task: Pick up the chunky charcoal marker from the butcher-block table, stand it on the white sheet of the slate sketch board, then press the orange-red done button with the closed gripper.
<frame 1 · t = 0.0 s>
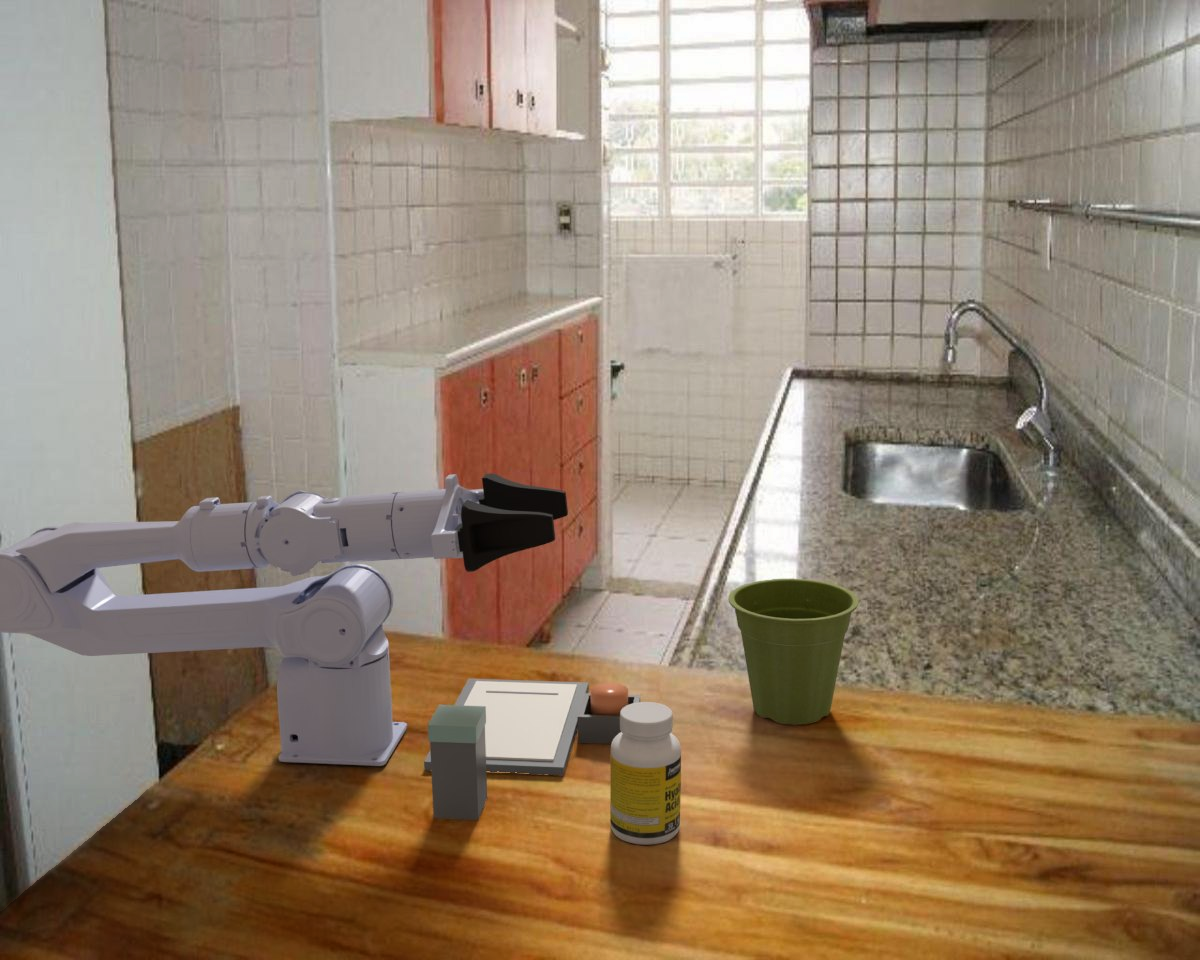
hand: (560, 515, 102), 22 cm above the worktop, tool horizontal, fingers open, 7 cm apart
marker: (460, 807, 99), on the worktop
plant pot: (789, 712, 116), on the worktop
supplement bottle: (645, 831, 95), on the worktop
button housing: (609, 731, 112), on the worktop
sketch board: (512, 727, 113), on the worktop
done button: (609, 700, 111), point 3 cm above the worktop, slide at 0.0 cm
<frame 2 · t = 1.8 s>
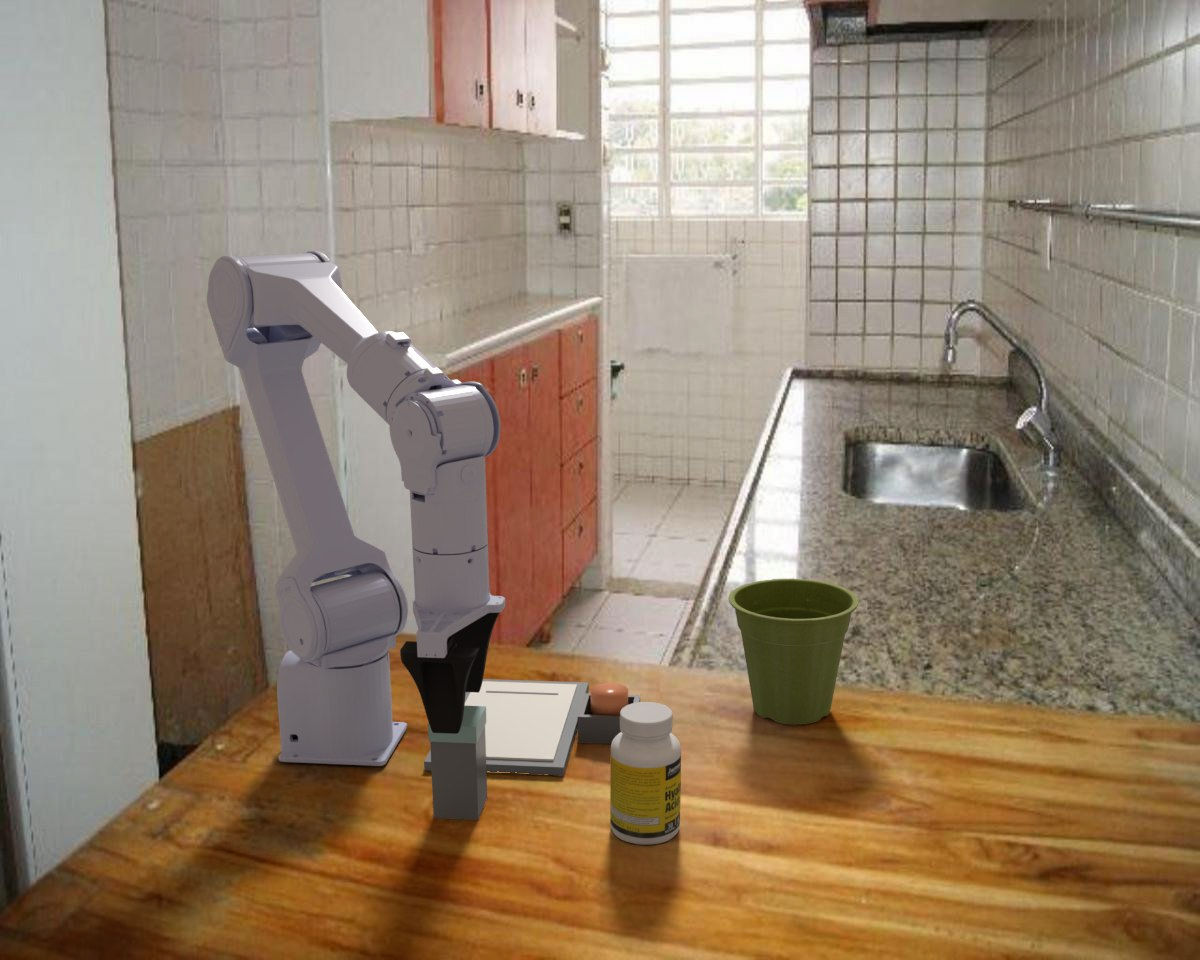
hand: (457, 710, 97), 8 cm above the worktop, tool pointing down, fingers open, 7 cm apart
nothing on the worktop moved.
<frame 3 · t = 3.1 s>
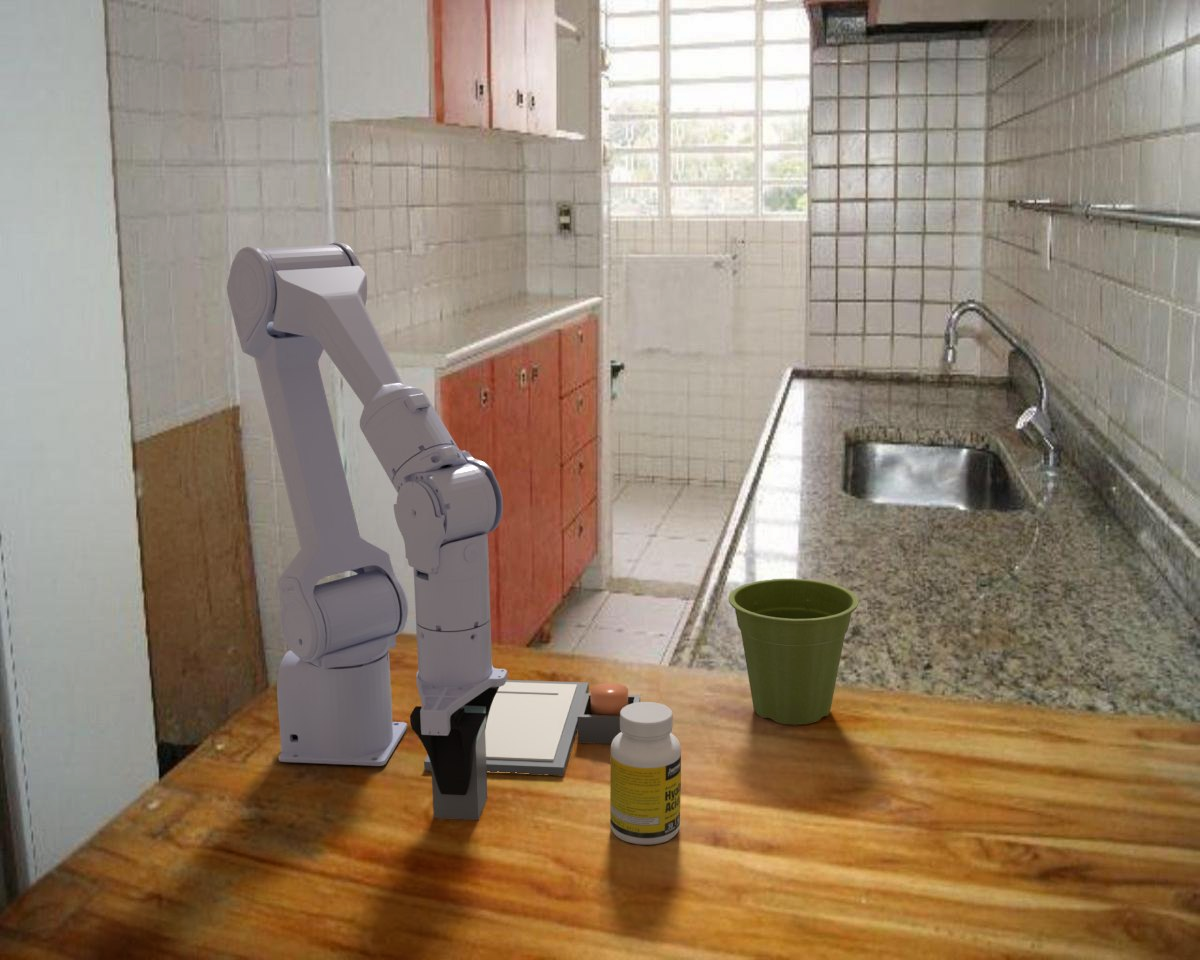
hand: (459, 779, 98), 2 cm above the worktop, tool pointing down, fingers closed on marker, 4 cm apart
marker: (461, 807, 99), on the worktop, touching gripper
everything else where it was.
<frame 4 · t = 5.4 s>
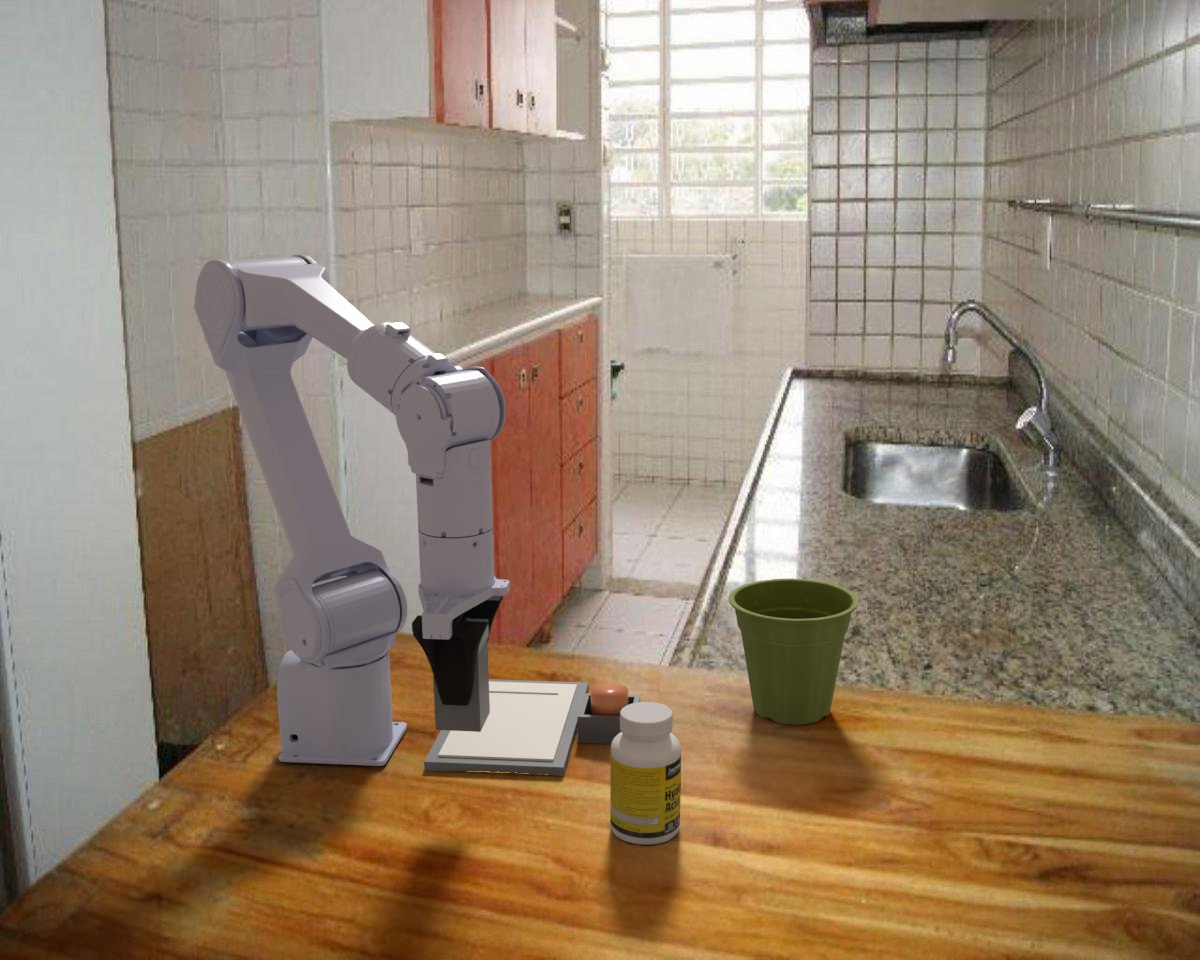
hand: (461, 692, 98), 9 cm above the worktop, tool pointing down, fingers closed on marker, 4 cm apart
marker: (463, 721, 98), point 7 cm above the worktop, touching gripper
everything else where it was.
when the fingers open (5 cm above the worktop, at t = 7.8 s): marker drops 1 cm, resting on sketch board.
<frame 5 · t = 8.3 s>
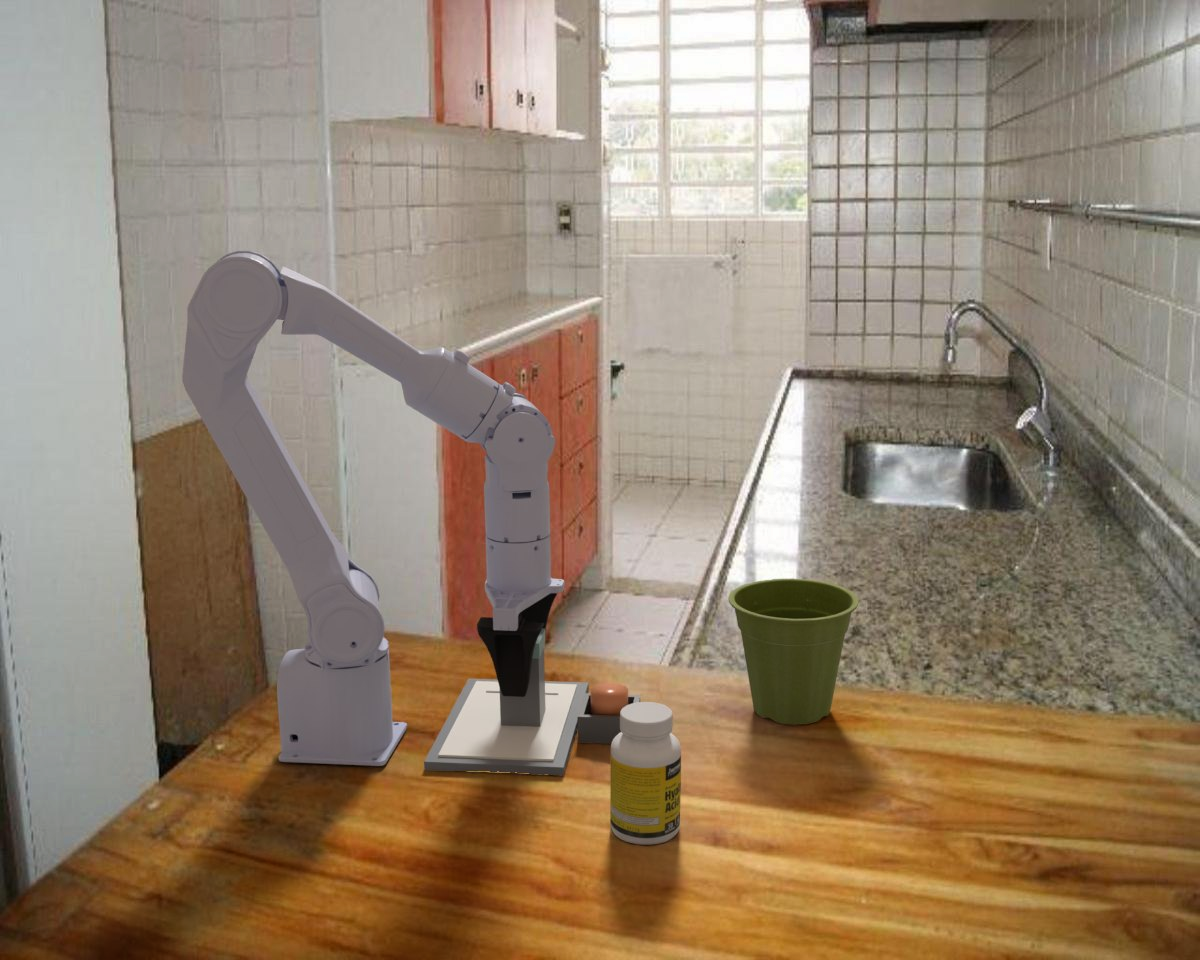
hand: (521, 677, 112), 5 cm above the worktop, tool pointing down, fingers open, 7 cm apart
marker: (523, 717, 113), point 1 cm above the worktop, touching sketch board
everything else where it was.
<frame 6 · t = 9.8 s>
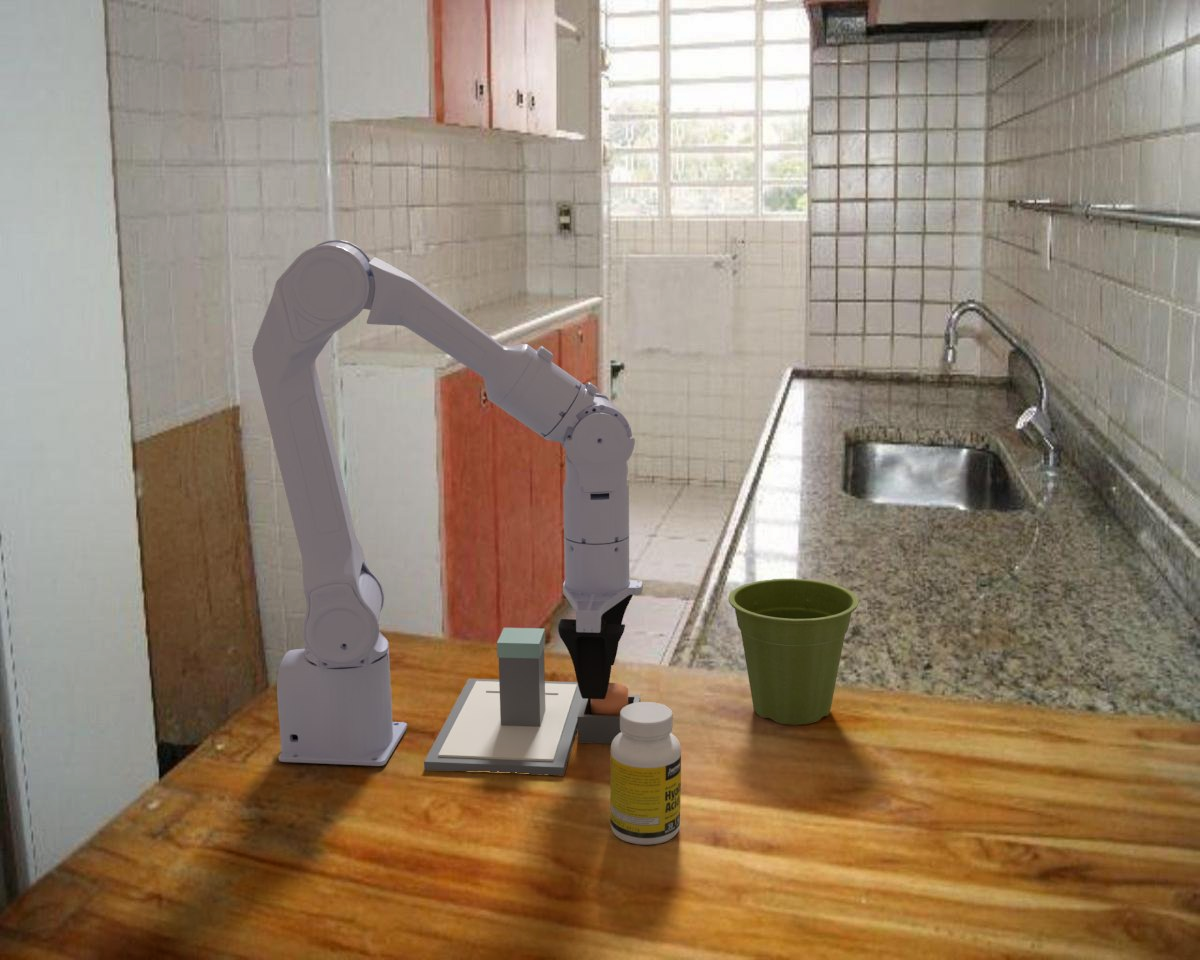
hand: (598, 680, 111), 5 cm above the worktop, tool pointing down, fingers open, 7 cm apart
nothing on the worktop moved.
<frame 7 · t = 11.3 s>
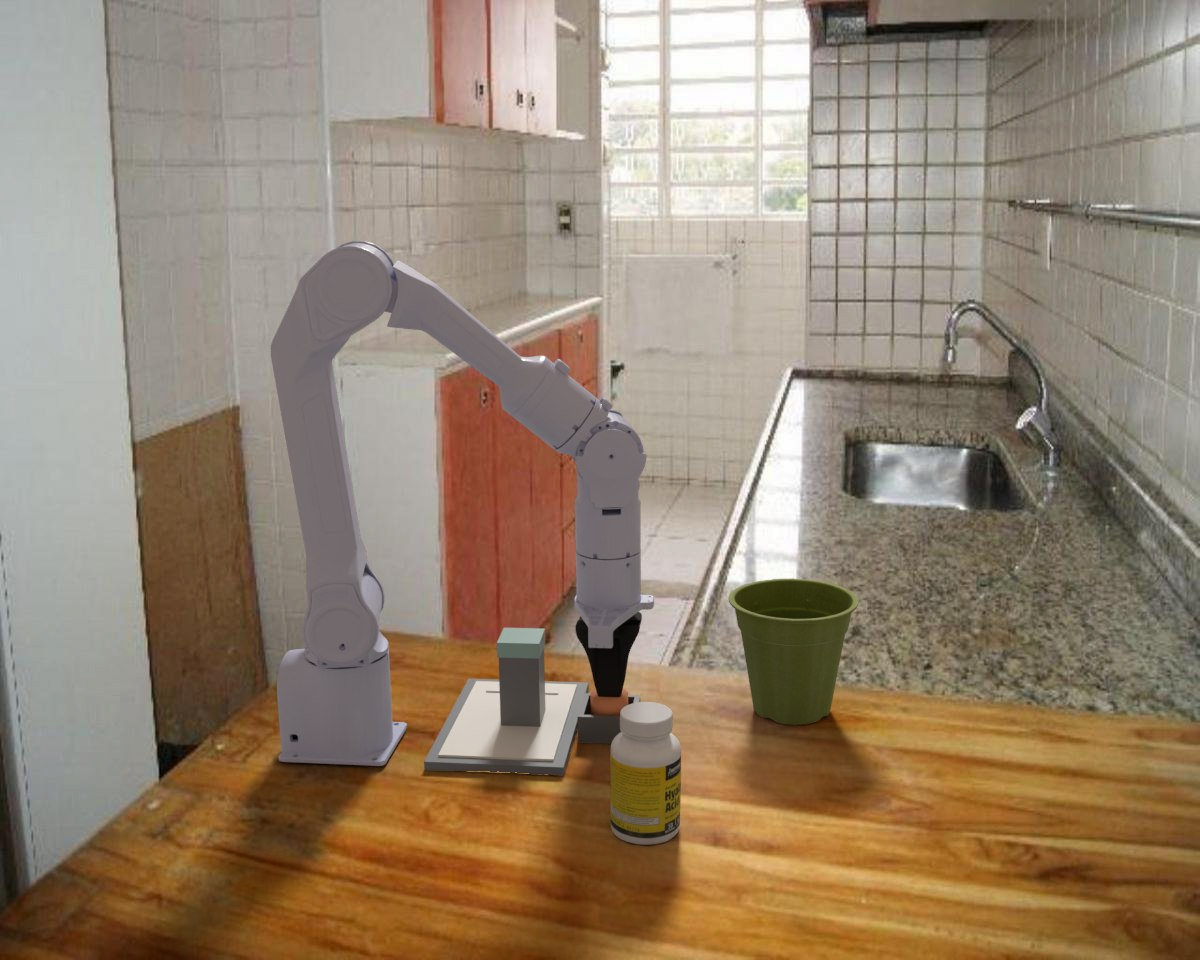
hand: (609, 694, 111), 4 cm above the worktop, tool pointing down, fingers closed, pressing on done button
done button: (609, 704, 111), point 3 cm above the worktop, slide at 0.4 cm, touching gripper
everything else where it was.
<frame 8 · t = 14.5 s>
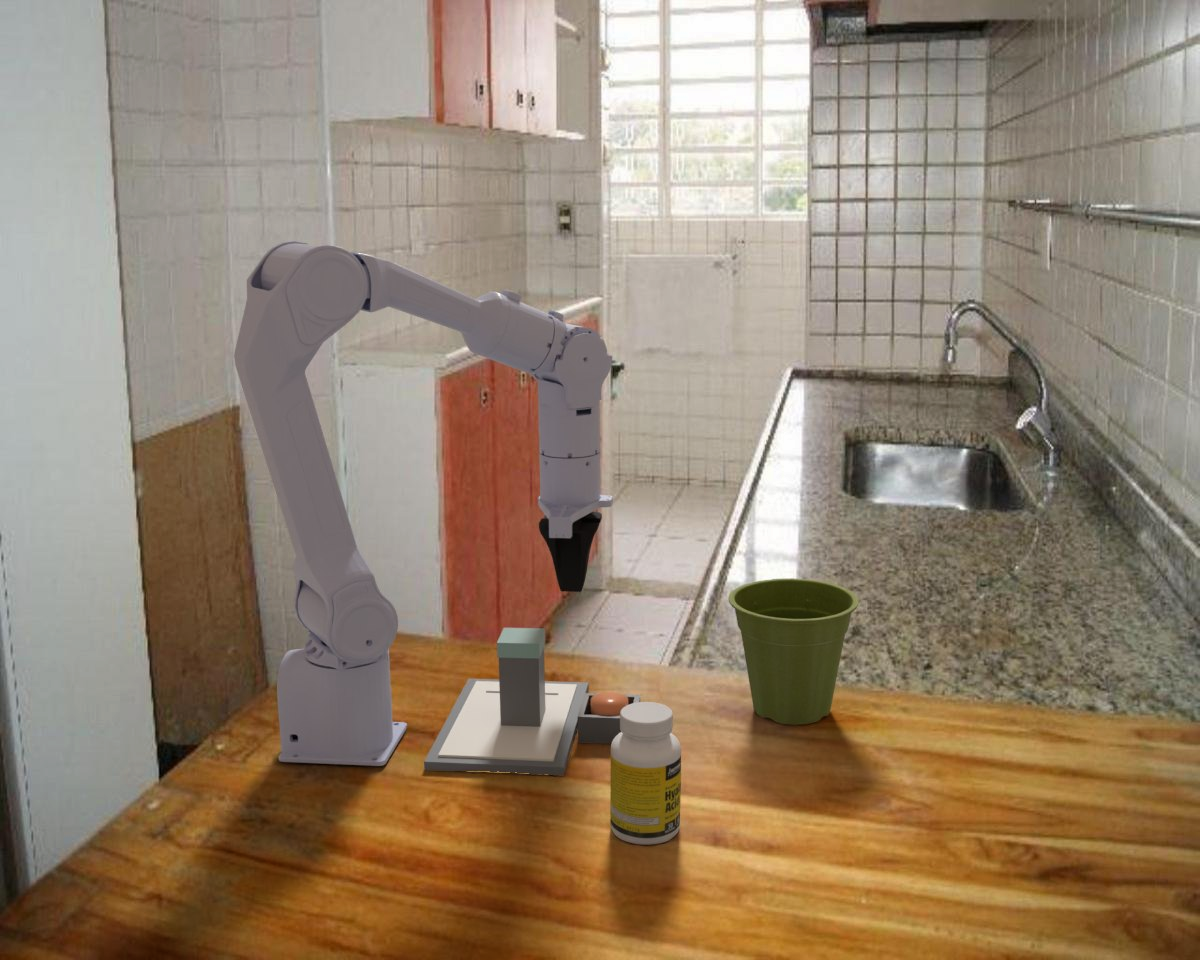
hand: (571, 589, 119), 10 cm above the worktop, tool pointing down, fingers closed
done button: (609, 709, 112), point 2 cm above the worktop, slide at 0.9 cm
everything else where it was.
at the end: marker inside the target area on the sketch board (1.1 cm from its centre), point 1.0 cm above the sketch board's base; marker tilted 0°; done button slide at 0.9 cm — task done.
